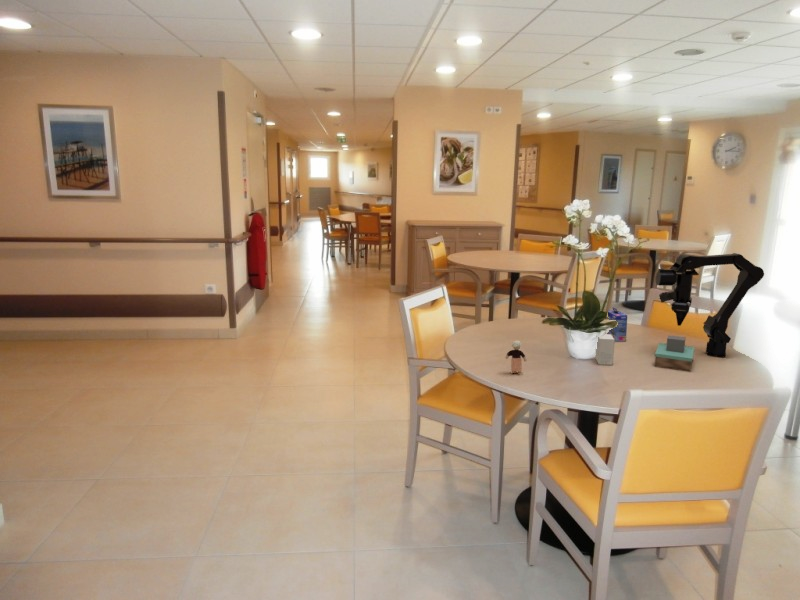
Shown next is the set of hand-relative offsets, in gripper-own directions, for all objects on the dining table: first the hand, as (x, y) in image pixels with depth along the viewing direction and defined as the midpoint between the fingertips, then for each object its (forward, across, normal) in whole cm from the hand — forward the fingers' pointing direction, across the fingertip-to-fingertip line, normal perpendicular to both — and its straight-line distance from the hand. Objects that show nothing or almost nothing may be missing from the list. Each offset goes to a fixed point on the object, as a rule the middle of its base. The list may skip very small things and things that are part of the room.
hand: (679, 323), depth 217 cm
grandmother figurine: (+13, +56, -50) cm, 76 cm away
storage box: (+13, +14, 0) cm, 19 cm away
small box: (+13, +26, -24) cm, 38 cm away
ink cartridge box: (+13, -11, -26) cm, 31 cm away
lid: (+9, +14, 0) cm, 17 cm away
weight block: (+8, +14, 0) cm, 16 cm away
